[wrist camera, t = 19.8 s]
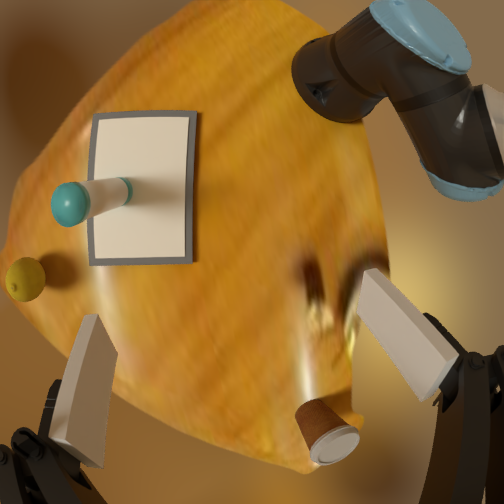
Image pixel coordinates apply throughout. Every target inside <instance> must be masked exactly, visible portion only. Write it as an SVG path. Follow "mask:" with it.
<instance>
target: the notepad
mask: <svg viewBox="0 0 504 504" xmlns="http://www.w3.org/2000/svg"><path fill="white" fill-rule="evenodd" d="M196 118H197V111H181V110H151V111H125V112H110V113H98V114H93V121H92V129H91V138H90V148H89V161H88V180H87V181H91V180H99V179H107V178H116V177H123V178H126V179H127V180H128V181H129V182H130V183H131V185H132V188H133V194H132V198H131V200H130V201H129V202H128V203H127V204H126V205H123V206H120V207H118V208H115V209H112V210H110V211H107V212H104V213H102V214H99V215H96V216H94V217H91V218H89V219H87V233H88V252H89V265H90V266H107V265H158V264H193V262H192V213H193V173H194V151H195V133H196Z"/></svg>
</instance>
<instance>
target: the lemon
mask: <svg viewBox="0 0 504 504" xmlns="http://www.w3.org/2000/svg"><path fill="white" fill-rule="evenodd" d="M45 282H46V276H45V271H44V269H43V267H42V265H41V264H40V263H39V262H38V261H37V260H35V259H33V258H29V257H26V258H21V259H19V260H17V261H15V262H14V263H13V264H12V265H11V266H10V268H9V270H8V271H7V274H6V287H7V290H8V292H9V294H10V295H11V296H12V297H13V298H14V299H15V300H17V301H20V302H28V301H31V300H33V299H35V298H37V297H38V296H39V295H40V294H41V292H42V291H43V289H44V286H45Z"/></svg>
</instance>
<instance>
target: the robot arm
mask: <svg viewBox="0 0 504 504" xmlns="http://www.w3.org/2000/svg"><path fill="white" fill-rule="evenodd" d="M466 48H467V45H466V43H465V42H464V40H463V38H462V36H461V35H460V33H459V32H458V30H457V29H456V28H455V26H454V25H453V24H452V23H451V22H450V20H448V18H447V17H446V16H445V15H444V14H443V13H442V12H441V11H440V10H439V9H437V8H436V7H435V6H434V5H432V4H431V3H429V2H428V1H427V0H376V1H373V2H372V3H371V4H370V6H369V7H368V8H366V9H365V10H364V11H362V12H361V13H360V14H358V15H357V16H356V17H354V18H353V19H352V20H351V21H349V22H348V23H347V24H346V25H344V26H343V27H342V28H341V29H340V30H339V31H337V32H336V33H334V34H331V35H327V36H324V37H322V38H317V39H313V40H311V41H309V42H307V43H306V44H305V45H304V46H302V47H301V48H300V49H299V50H298V52H297V53H296V54H295V56H294V58H293V61H292V68H291V70H292V78H293V81H294V84H295V87H296V89H297V91H298V92H299V94H300V96H301V97H302V98H303V100H304V101H305V102H306V103H307V104H308V105H309V106H310V107H311V108H312V109H313V110H314V111H315V112H317V113H318V114H320V115H321V116H323V117H325V118H327V119H329V120H332V121H335V122H341V123H348V122H353V121H355V120H358V119H361V118H363V117H365V116H367V115H368V114H369V113H370V112H371V111H372V110H373V109H374V107H375V105H377V103H379V102H380V101H381V100H382V99H383V98H385V97H387V96H388V97H389V100H390V101H391V103H392V104H393V106H394V108H395V110H396V112H397V113H398V115H399V117H400V119H401V121H402V122H403V125H404V127H405V128H406V130H407V133H408V135H409V136H410V139H411V140H412V143H413V145H414V147H415V149H416V151H417V153H418V156H419V158H420V163H421V165H422V167H423V168H424V170H425V171H426V172H427V174H428V177H429V179H430V181H431V183H432V185H433V186H434V188H435V189H437V190H438V192H439V193H441V194H442V195H444V196H445V197H448V198H450V199H453V200H457V201H464V202H474V201H481V200H485V199H487V196H494V195H496V194H497V193H498V192H499V191H500V190H501V189H502V187H503V184H504V93H500V92H498V91H496V90H495V89H493V88H492V87H490V86H489V85H487V84H482V85H478V86H472V84H471V82H470V81H469V78H468V76H467V74H466V73H467V72H468V70H469V69H470V68H471V63H472V62H471V56H470V53H469V51H468V50H467V49H466ZM357 314H358V315H359V316H360V318H361V319H362V320H363V322H364V323H365V324H366V326H367V327H368V328H369V330H370V331H371V332H372V334H373V335H374V336H375V338H376V339H377V340H378V342H379V343H380V345H381V346H382V347H383V348H384V350H385V352H386V353H387V354H388V356H389V357H390V358H391V360H392V361H393V363H394V364H395V366H396V367H397V368H398V370H399V371H400V373H401V374H402V375H403V377H404V378H405V380H406V381H407V383H408V384H409V386H410V387H411V389H412V390H413V391H414V393H415V394H416V395H417V397H418V399H419V400H420V402H422V401H424V400H426V399H427V398H429V397H431V396H433V395H434V393H435V392H436V390H437V389H438V387H439V388H440V390H441V393H440V394H439V395H438V397H437V398H436V400H435V401H434V402H433V406H435V405H436V403H437V402H438V401H439V404H438V414H437V422H436V429H435V436H434V442H433V448H432V453H431V458H430V463H429V467H428V472H427V476H426V480H425V484H424V488H423V491H422V495H421V498H420V501H419V504H482V499H483V494H484V488H485V497H486V500H485V502H486V503H485V504H504V345H501V346H499V347H498V348H497V349H496V351H495V352H494V354H492V355H487V356H482V355H481V354H479V353H477V352H469V353H468V352H467V351H466V350H465V349H464V348H463V347H462V346H461V345H460V344H459V342H458V341H457V340H456V339H455V338H454V337H453V336H452V335H451V334H450V333H449V332H447V329H446V328H445V327H444V326H442V324H441V323H440V322H439V321H438V320H437V319H436V318H435V317H433V316H432V315H430V314H428V313H423V314H422V313H421V312H420V311H419V310H418V309H417V308H416V307H415V306H414V305H413V304H412V303H411V302H410V301H409V300H408V299H407V298H406V297H405V296H404V295H403V294H402V293H401V292H400V291H399V290H398V289H397V288H396V287H395V286H394V285H393V284H392V283H391V282H390V281H389V280H388V279H387V278H386V277H385V276H384V275H383V274H382V273H381V272H380V271H379V270H378V269H377V268H374V269H369V270H365V271H364V275H363V281H362V287H361V292H360V297H359V302H358V307H357ZM117 355H118V353H117V351H116V349H115V347H114V345H113V343H112V342H111V340H110V338H109V336H108V334H107V332H106V330H105V328H104V325H103V323H102V321H101V319H100V317H99V315H98V314H91V315H85V316H84V318H83V321H82V323H81V326H80V329H79V331H78V334H77V337H76V340H75V342H74V345H73V348H72V351H71V354H70V357H69V360H68V363H67V366H66V369H65V373H64V376H63V379H62V380H58V379H57V380H55V381H54V383H53V384H52V386H51V387H50V389H49V392H48V395H47V400H46V403H45V408H44V410H43V414H42V418H41V422H40V426H39V431H38V435H36V434H35V433H34V432H33V431H31V430H30V429H28V428H25V427H22V428H19V429H17V430H16V432H14V434H13V436H12V439H11V447H12V450H11V449H10V448H9V447H8V446H6V445H3V444H0V502H1V504H107V503H106V501H105V500H104V499H103V497H102V496H101V495H100V494H99V492H98V491H97V490H96V488H95V487H94V486H93V484H92V483H91V481H90V480H89V479H88V477H87V476H86V474H85V473H84V471H83V470H82V469H81V468H80V462H82V463H83V464H84V465H86V466H87V467H94V468H101V469H103V468H104V452H105V440H106V429H107V419H108V411H109V404H110V397H111V390H112V383H113V377H114V372H115V366H116V360H117ZM498 385H499V386H500V391H499V392H497V390H496V388H497V387H498ZM26 489H27V490H26Z"/></svg>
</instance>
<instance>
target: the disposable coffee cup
mask: <svg viewBox="0 0 504 504" xmlns="http://www.w3.org/2000/svg"><path fill="white" fill-rule="evenodd" d="M295 418H296V421H297V423H298V425H299V428H300V430H301V432H302V435H303V437H304V439H305V441H306V444H307V446H308V448H309V451H310V458H311V460H312V461H314V462H316V463H318V464H319V465H329V464H332V463H335V462H337V461H339V460H341V459H343V458H344V457H346V456H347V455H348V454H350V453H351V452H352V451H353V450H354V449H355V447H356V446H357V444H358V442H359V439H360V438H359V435H358V430H357V428H355V427H353V426H351V425H349V424H347V423H346V422H345V421H344V420H343V419H341V418H340V417H339V416H338V415H337V414H336V413H334V412H333V411H332V410H331V409H330V408H329V407H327V406H326V405H325V404H324V403H323V402H322V401H320V400H311V401H308V402H306V403H304V404H303V405H302V406H301V407H300V408H299V409H298V410H297V412H296V414H295Z"/></svg>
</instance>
